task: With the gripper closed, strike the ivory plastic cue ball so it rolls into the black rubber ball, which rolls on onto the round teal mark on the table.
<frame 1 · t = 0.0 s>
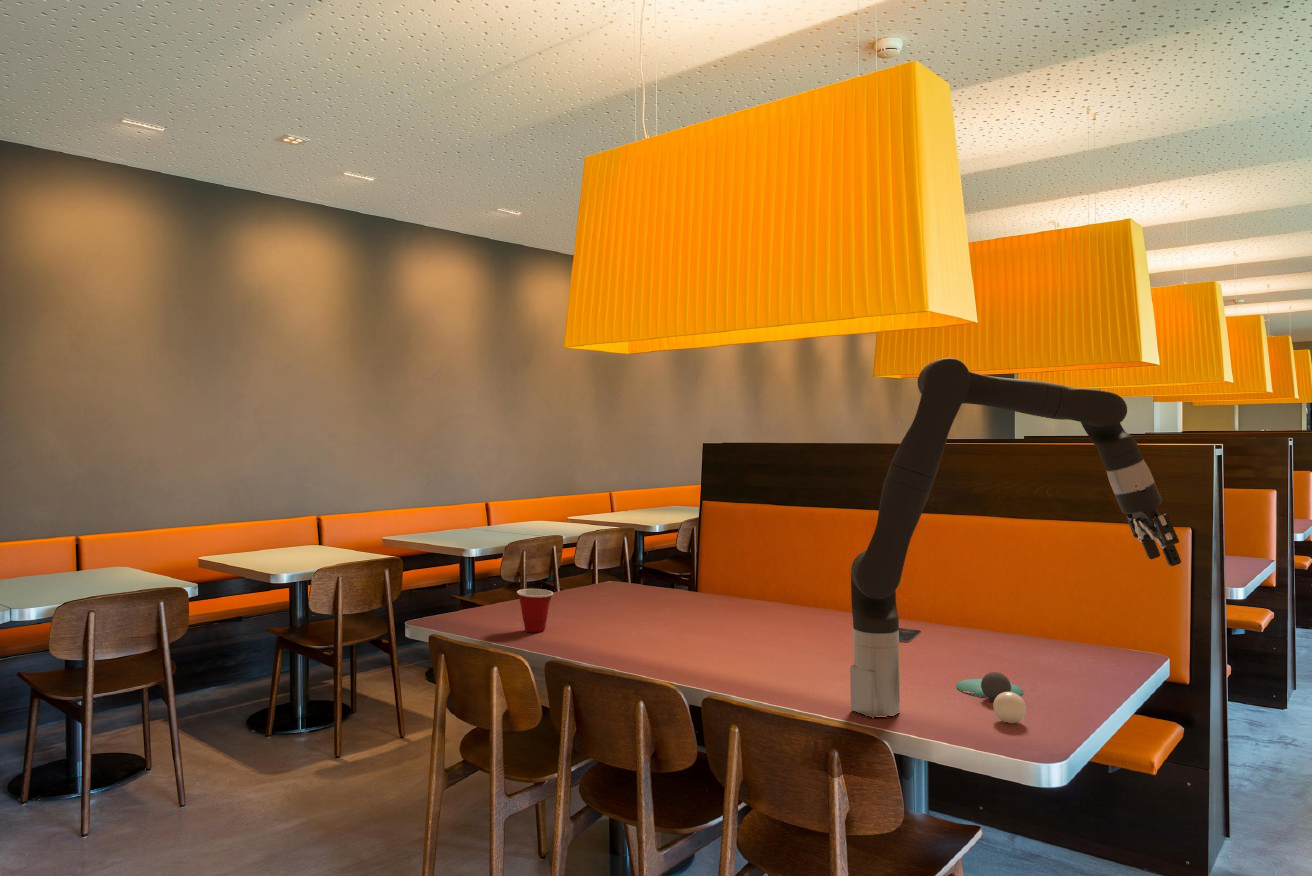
hand: (1165, 561, 168), 31 cm above the table, tool tilted 20°, fingers open, 8 cm apart
object ball: (995, 686, 181), on the table
smartphone: (902, 637, 239), on the table
cue ball: (1009, 707, 167), on the table
plastic cup: (535, 631, 250), on the table
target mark: (989, 688, 189), on the table
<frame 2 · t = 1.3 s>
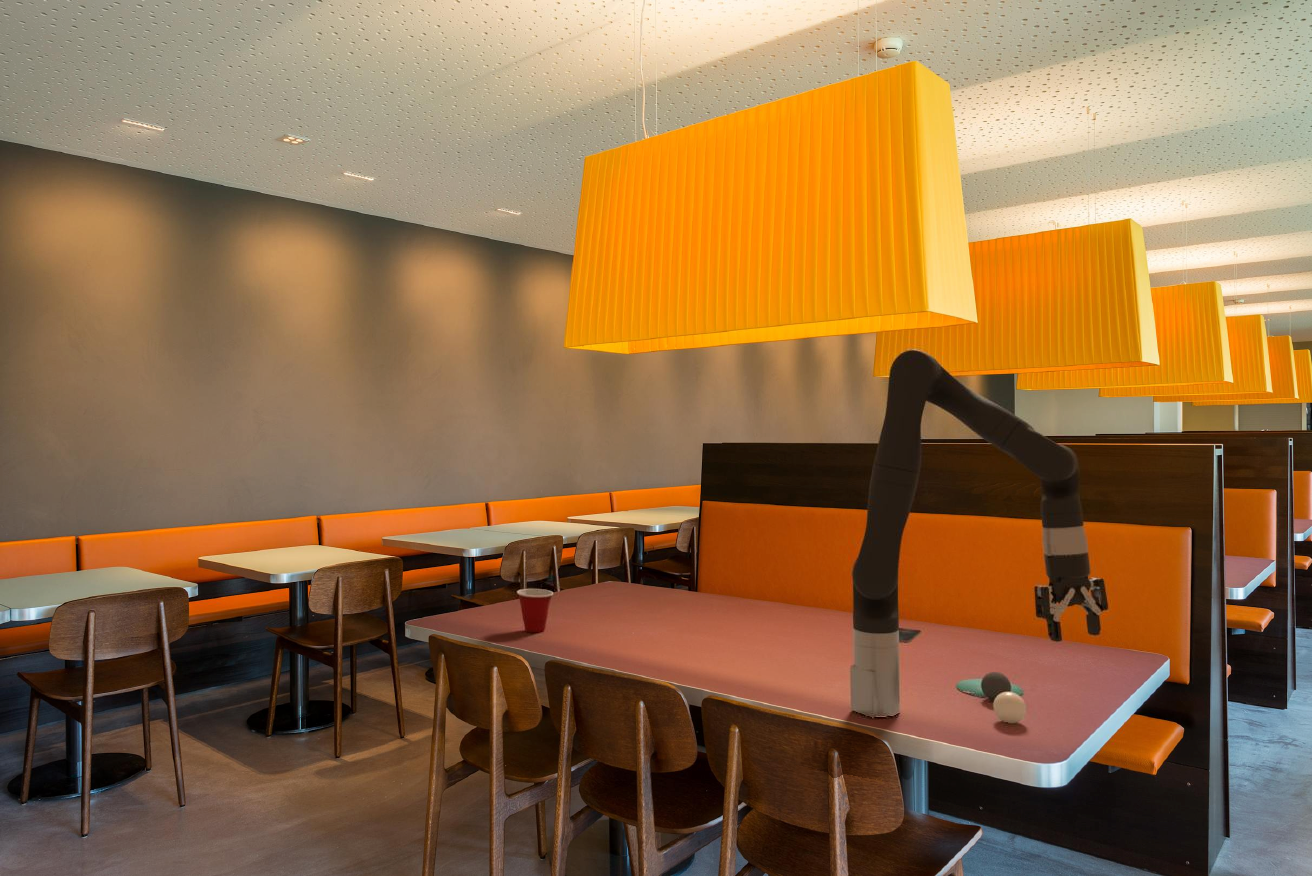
hand: (1075, 637, 156), 19 cm above the table, tool pointing down, fingers open, 8 cm apart
nothing on the table moved.
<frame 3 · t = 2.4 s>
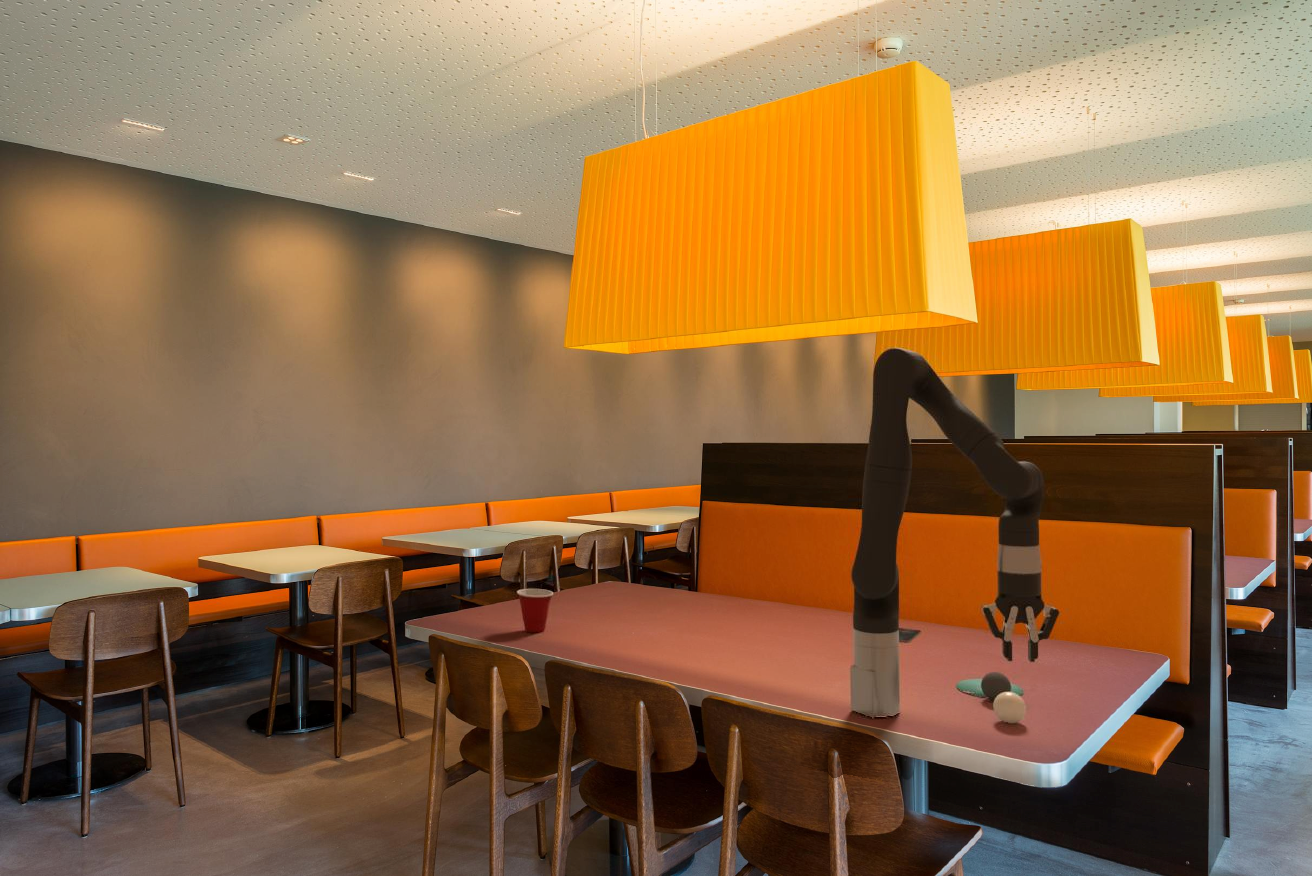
hand: (1020, 660, 157), 15 cm above the table, tool pointing down, fingers open, 3 cm apart
nothing on the table moved.
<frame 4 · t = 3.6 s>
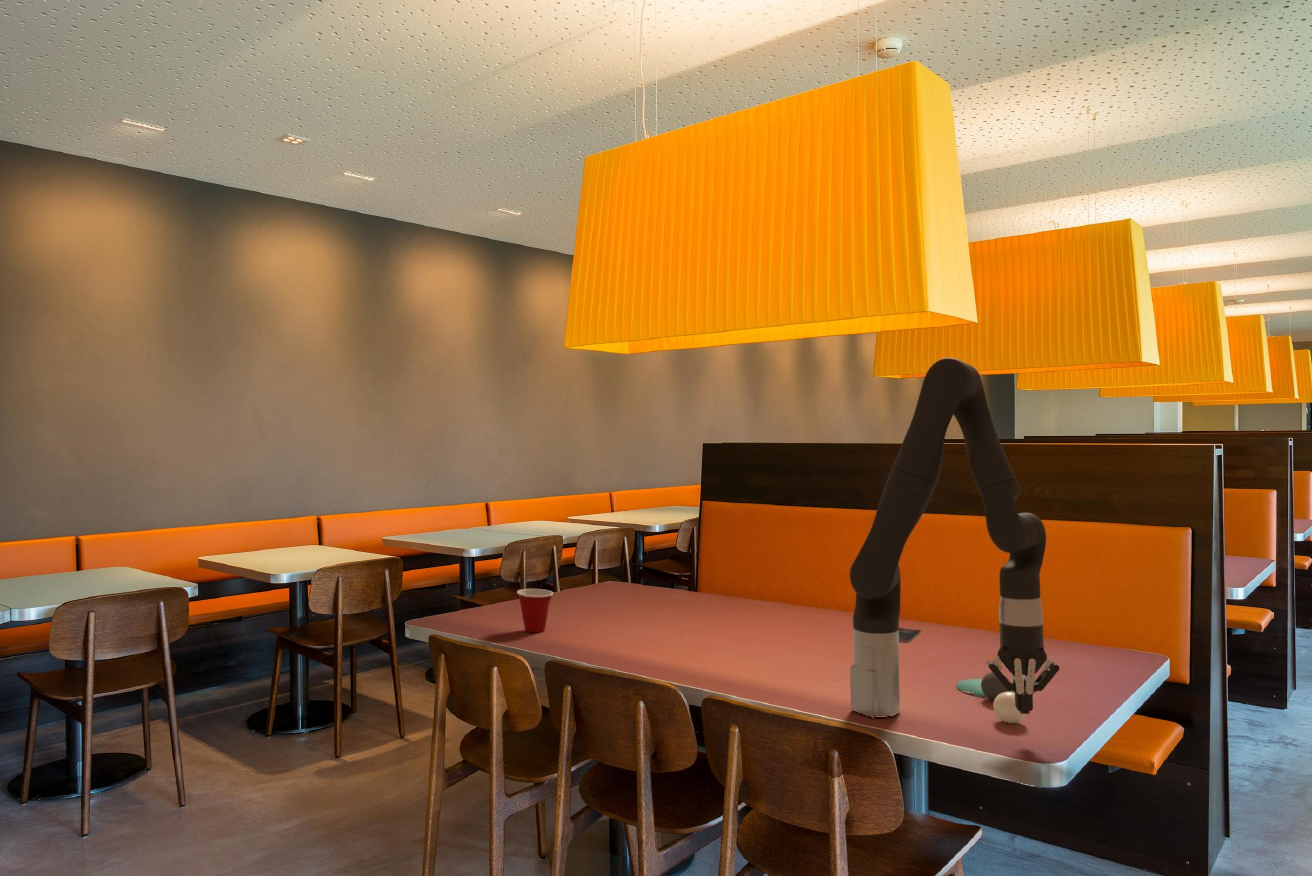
hand: (1024, 712, 157), 5 cm above the table, tool pointing down, fingers closed
nothing on the table moved.
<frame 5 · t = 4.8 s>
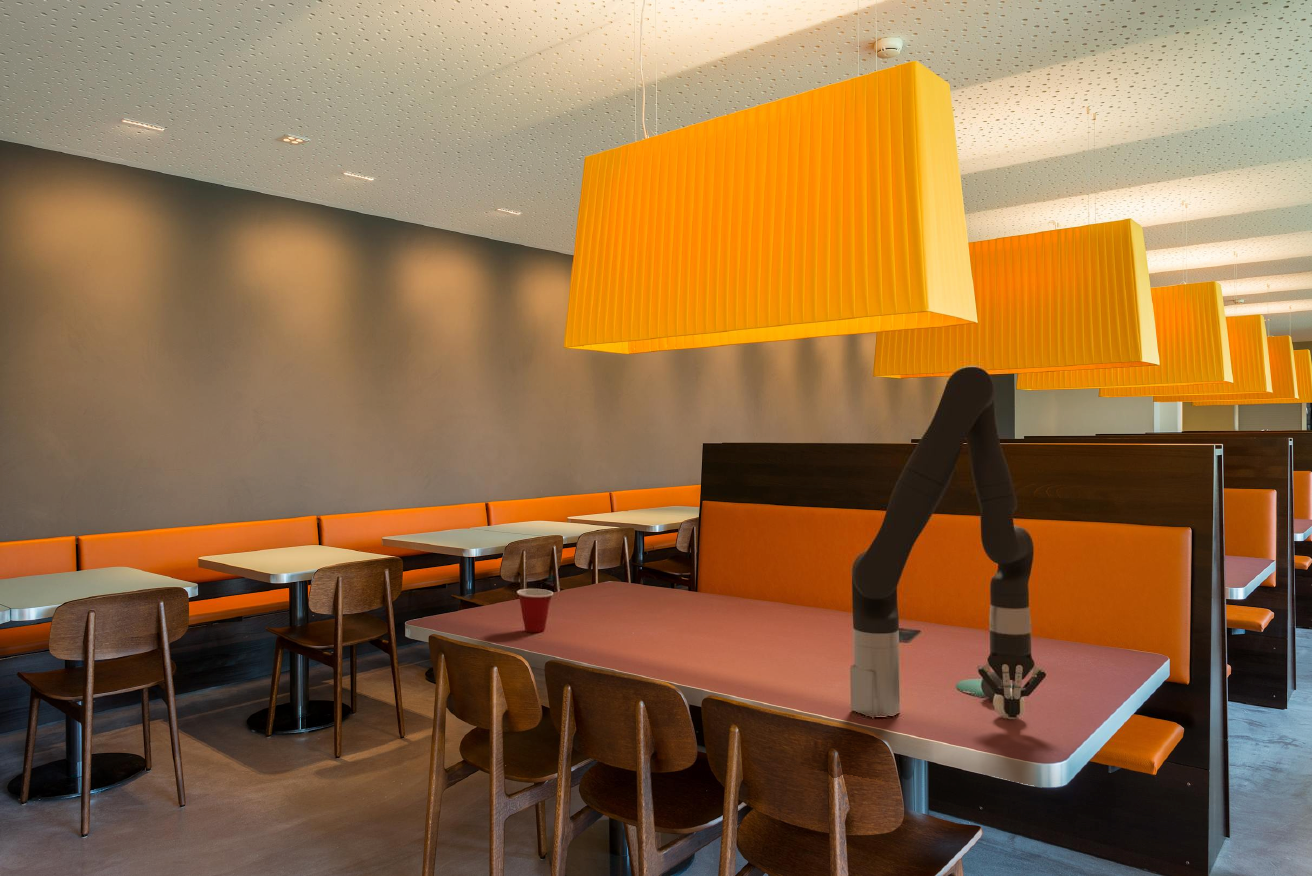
hand: (1011, 716, 165), 2 cm above the table, tool pointing down, fingers closed
cue ball: (1009, 703, 169), on the table, touching gripper
everything else where it was.
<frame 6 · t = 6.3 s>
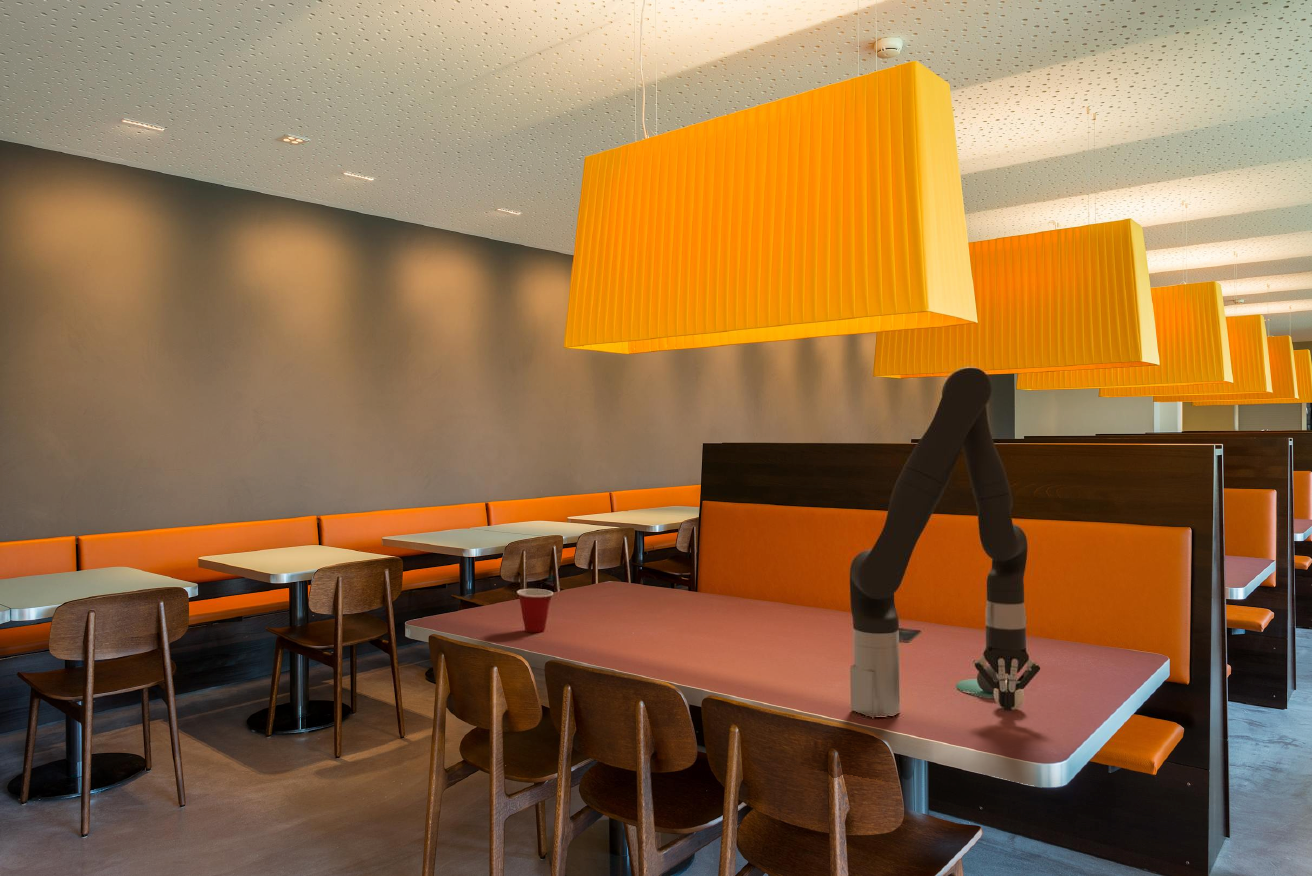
hand: (1006, 708, 170), 2 cm above the table, tool pointing down, fingers closed
object ball: (991, 679, 185), on the table
cue ball: (1008, 694, 175), on the table
everything else where it was.
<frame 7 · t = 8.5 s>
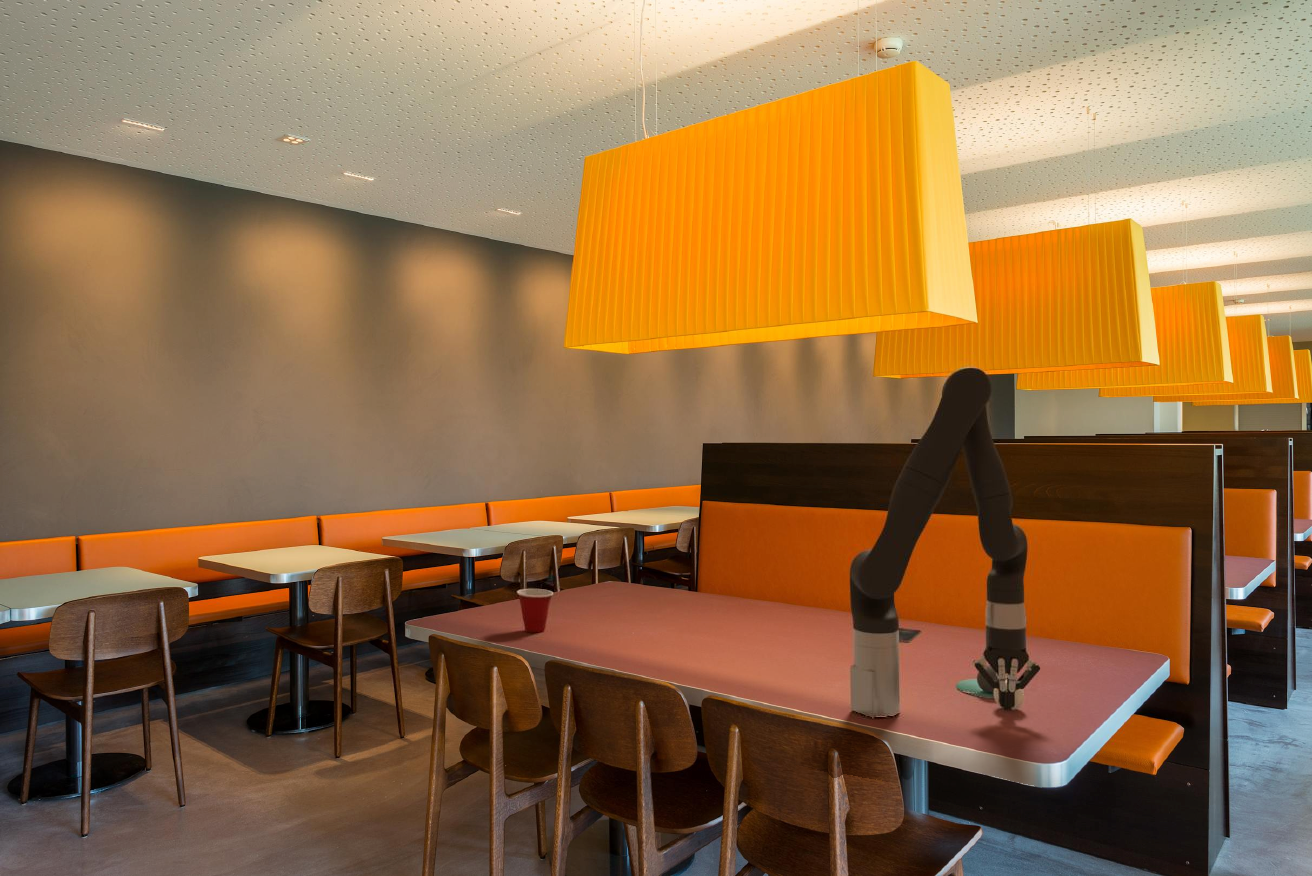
hand: (1006, 708, 170), 2 cm above the table, tool pointing down, fingers closed
nothing on the table moved.
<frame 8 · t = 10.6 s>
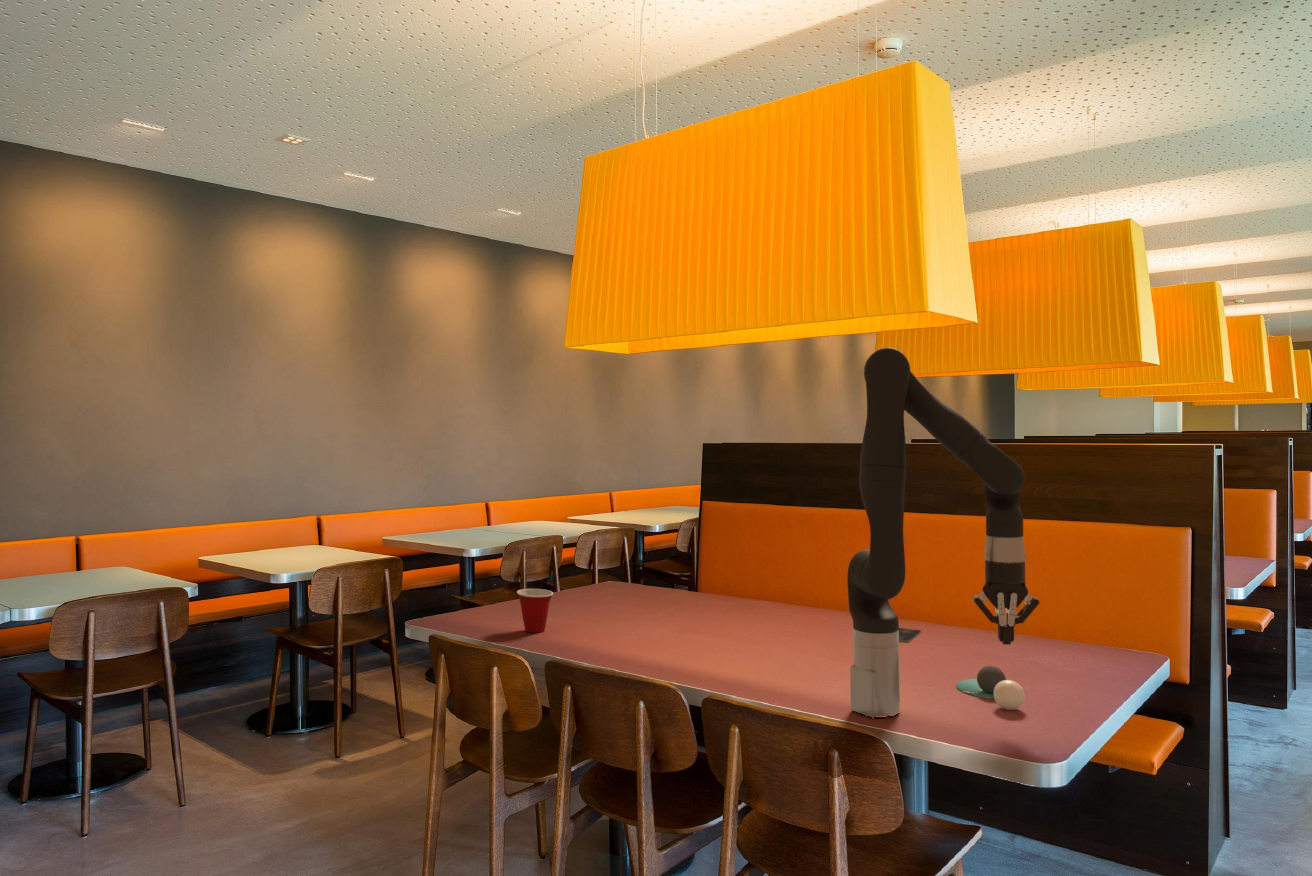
hand: (1005, 643, 170), 15 cm above the table, tool pointing down, fingers closed
nothing on the table moved.
at the end: object ball 3.3 cm from the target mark (horizontally); object ball never touched the robot; cue ball first touched object ball at 5.1 s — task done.
